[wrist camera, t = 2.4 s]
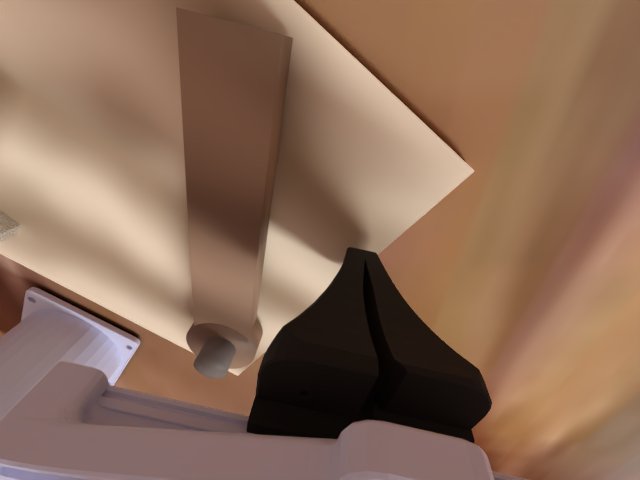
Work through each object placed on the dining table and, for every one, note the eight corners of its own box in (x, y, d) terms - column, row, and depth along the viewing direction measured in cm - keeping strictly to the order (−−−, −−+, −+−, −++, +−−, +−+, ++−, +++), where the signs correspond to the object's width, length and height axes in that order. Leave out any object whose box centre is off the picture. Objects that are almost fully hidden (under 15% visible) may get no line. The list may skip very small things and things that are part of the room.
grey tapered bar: (260, 350, 19) (244, 396, 16) (201, 336, 19) (176, 379, 16) (308, 42, 9) (289, 36, 7) (189, 11, 9) (124, -7, 7)
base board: (242, 363, 22) (237, 375, 21) (-49, 209, 17) (-71, 217, 16) (466, 162, 12) (474, 171, 11) (-84, -357, 7) (-146, -414, 6)
